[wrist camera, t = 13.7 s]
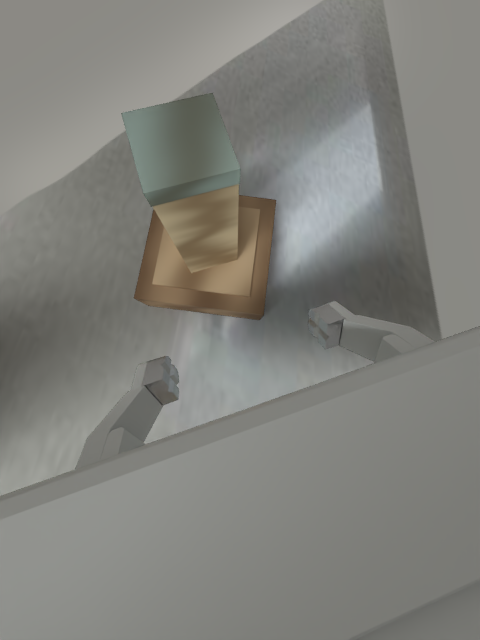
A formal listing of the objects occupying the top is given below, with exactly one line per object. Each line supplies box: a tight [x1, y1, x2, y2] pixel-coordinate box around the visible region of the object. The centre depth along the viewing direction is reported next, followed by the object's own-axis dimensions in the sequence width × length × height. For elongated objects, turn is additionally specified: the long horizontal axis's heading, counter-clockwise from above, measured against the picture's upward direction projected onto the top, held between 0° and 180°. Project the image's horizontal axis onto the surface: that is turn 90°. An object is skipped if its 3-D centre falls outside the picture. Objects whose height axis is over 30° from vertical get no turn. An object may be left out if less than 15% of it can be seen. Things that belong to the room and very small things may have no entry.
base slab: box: [134, 195, 276, 320], centre depth 20 cm, size 12×12×3 cm
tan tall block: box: [122, 93, 240, 273], centre depth 13 cm, size 5×5×9 cm
